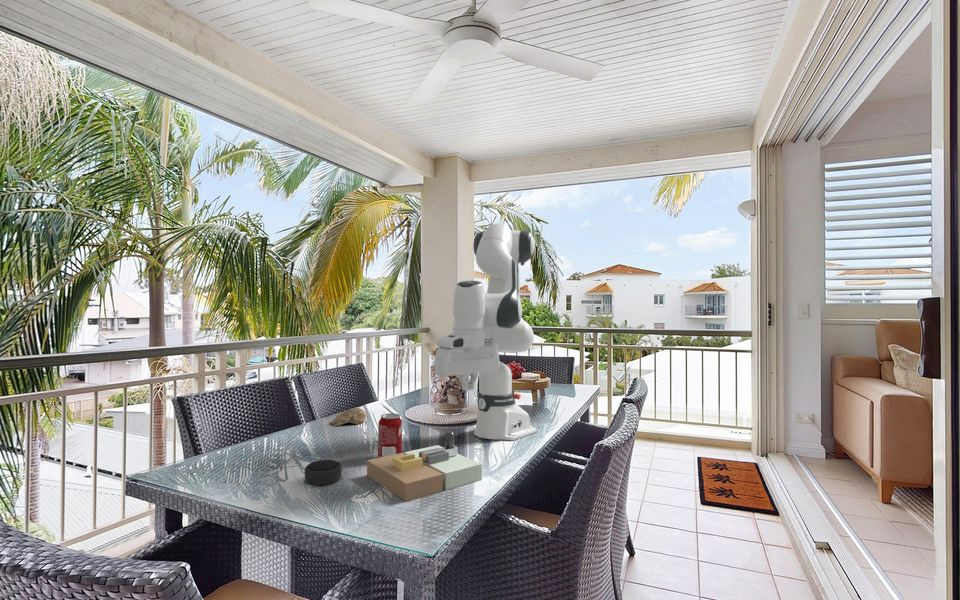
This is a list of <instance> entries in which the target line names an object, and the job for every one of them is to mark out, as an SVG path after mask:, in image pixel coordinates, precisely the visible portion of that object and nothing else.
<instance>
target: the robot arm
mask: <svg viewBox="0 0 960 600" xmlns="http://www.w3.org/2000/svg"><path fill="white" fill-rule="evenodd" d="M472 247H473V248H472V249H473V252H474V256H475V262H476V264H477V267H478V269H480V271H482V272H483V273H484V274H485V275H488V276H489V279H488V284H487V291H486V293H485V287H484V284H483V282H481V281H479V280H463V281H459V282H457V283H456V284H455V288H454V293H453V294H454V295H453V308H452V314H453V318H454V320H453V321H454V322H453V326H452V332H451V333H449V334H447V335H444V336H442V337H440V338H438V339H436V346H437V347H438V348H437V349H436V351H435V355H434V356H435V357H434V372H435V374H436V376H438V377H439V376H440V377H444V378H445V377H450V376H451V377H452V376H453V377H454V376H458V379H459V381H460V383H461V390H462V391H464V392H466V391H472V390H475V383H476V382H477V380H478V382H479V383H478V384H479V385H478V387H479V388H478V389H479V391H478V392H477V405H478V410H477V411H478V412H477V418H476V425H475V429H474V432H473V434H474V435H475V437H478V438H480V439H488V440H503V441H516V440H519V439H521V438H524V437H526V436H530V435H532V434H535V433H537V432H538V429H537V427H535V426H533V425H532V424H531V419H530V415H529V413H528V412H527V411H526V410H524V409H523V408H522V407H521V406H520V405H518V404H517V403H516V400H519V401H520V400H521V398H522V395H521V393H516V392H515V393H513V392H512V391H513V390H512V385H513V384H512V382H513V381H512V380H513V377H512V376H513V374H512V370H511V368H510V367H509V366H508V365H507V364H505V363H504V362H501V361H500V353H506V354H507V353H508V354H509V353H510V354H515V353H522V352H527V351H529V349H530V348H532V346H533V343H534V341H535V339H534V338H535V334H534V330H533V329H532V326H531V325H530V324H529V323H528V322H527V321H526V320H524V318H523V317H522V316H523V306H522V301H521V289H520V288H521V286H520V281H521V280H520V269H519V264H520V266H524V265H525V263H526V262H528V261H529V260H530V259H532V256H533V255H534V252H535V249H536V241H535V238H534V235H533V233H532V232H530V231H528V230H523V229H521V230H515V229H511V228H509V227H508V226H507V225H505V224H503V223H499V222H497V223H495V222H494V223H492V224H491V225H489V226H488V227H487V228H486V229H485V230H483V231H480V232H479V231H478V233H477V234H476V235H475V236H474V239H473V245H472ZM468 377H470V378H469V380H467V379H468ZM467 381H468V382H467Z"/></svg>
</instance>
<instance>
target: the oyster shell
mask: <svg viewBox="0 0 960 600" xmlns="http://www.w3.org/2000/svg"><path fill="white" fill-rule="evenodd" d="M367 418H368V414H367V412H366V411H365V410H364V409H362V408H361V407H353V408H349V409H346V410H344V411H343V412H342V411H341V412H340V413H338V414H337V415H336V417H334V419H332V421H331V426H332V427H337V426H342V425H345V424H347V423H349V424H350V423H351V424H353V425H354V424H355V425H361V424H364V423H365V420H366V419H367Z"/></svg>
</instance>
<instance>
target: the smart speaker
mask: <svg viewBox="0 0 960 600" xmlns="http://www.w3.org/2000/svg"><path fill="white" fill-rule="evenodd" d="M342 468H343V467H342V464H341V462H339V461H337V460H334V459H322V460H321V459H320V460H316V461H312V462H310V463H308V464H307V465H306V466H305V468H304V481H305V482H306V483H307V484H309V485H313V486H327V485H331V484H334V483H336V482H338V481H340V479H342V475H343V474H342V473H343V472H342Z"/></svg>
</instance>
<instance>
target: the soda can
mask: <svg viewBox="0 0 960 600" xmlns="http://www.w3.org/2000/svg"><path fill="white" fill-rule="evenodd" d="M377 426H378V427H377V428H378V429H377V430H378V431H377V432H378V436H377V437H378V438H377V440H378V441H377V451H378V452H377V455H378V458H380V457H385V456H390V455H394V454H399V453H402V454H403V420H402V419H401V414H399V413H395V412H393V413H392V412H391V413H390V412H389V413H384V414H381V415H380V419H379V421H378V425H377Z"/></svg>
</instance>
